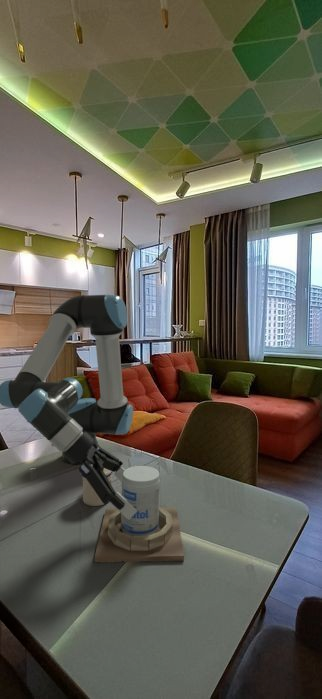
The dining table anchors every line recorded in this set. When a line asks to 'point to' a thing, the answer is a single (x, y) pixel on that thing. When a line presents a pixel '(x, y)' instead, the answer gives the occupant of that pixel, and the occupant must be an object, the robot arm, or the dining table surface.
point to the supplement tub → (141, 500)
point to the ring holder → (140, 540)
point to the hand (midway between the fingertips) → (133, 499)
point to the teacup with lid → (90, 494)
